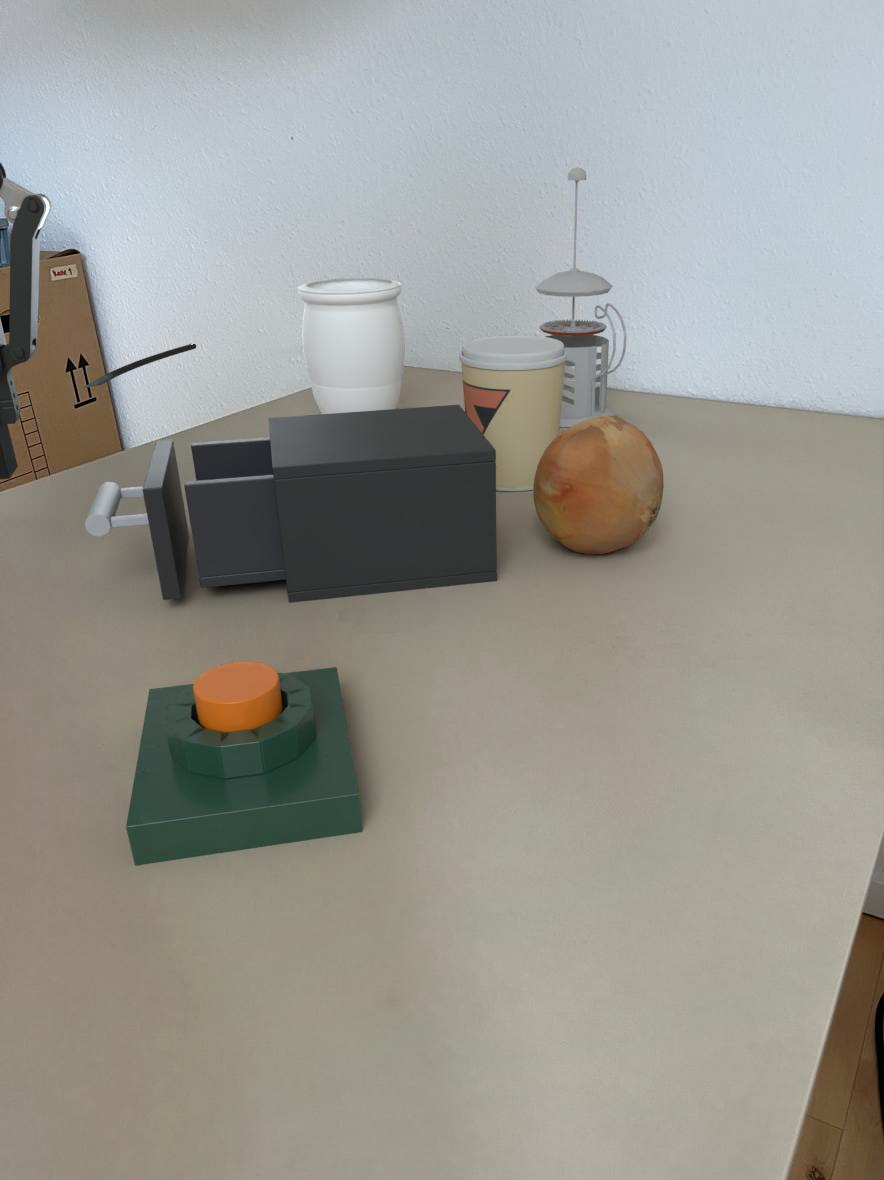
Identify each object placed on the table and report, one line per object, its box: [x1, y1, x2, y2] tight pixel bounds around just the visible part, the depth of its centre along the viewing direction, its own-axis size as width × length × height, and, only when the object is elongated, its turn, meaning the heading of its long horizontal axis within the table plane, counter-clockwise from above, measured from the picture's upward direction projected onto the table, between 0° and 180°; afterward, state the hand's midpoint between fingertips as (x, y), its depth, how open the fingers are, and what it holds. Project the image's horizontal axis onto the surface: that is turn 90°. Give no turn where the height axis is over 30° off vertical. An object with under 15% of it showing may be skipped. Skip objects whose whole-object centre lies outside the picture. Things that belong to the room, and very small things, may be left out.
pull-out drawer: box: [84, 436, 286, 601], centre depth 69 cm, size 18×11×8 cm, turn 102°
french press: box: [535, 166, 627, 428], centre depth 102 cm, size 10×12×25 cm
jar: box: [296, 277, 406, 414], centre depth 101 cm, size 11×10×15 cm
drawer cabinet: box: [267, 404, 498, 604], centre depth 71 cm, size 15×13×10 cm
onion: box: [532, 415, 665, 556], centre depth 72 cm, size 10×10×10 cm
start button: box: [193, 660, 283, 732], centre depth 47 cm, size 4×4×2 cm
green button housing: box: [125, 666, 363, 867], centre depth 48 cm, size 12×10×4 cm
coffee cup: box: [458, 334, 567, 492], centre depth 87 cm, size 9×9×12 cm
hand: (1, 473), depth 64 cm, fingers closed
